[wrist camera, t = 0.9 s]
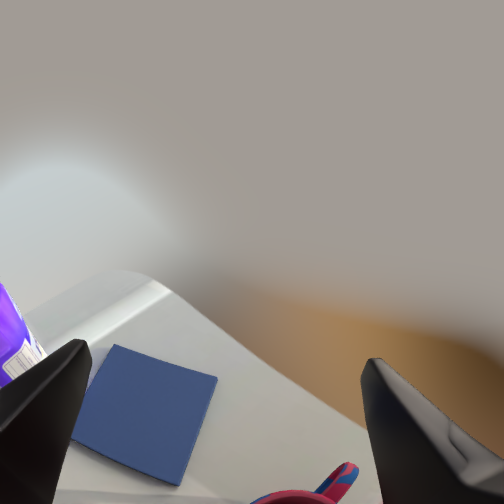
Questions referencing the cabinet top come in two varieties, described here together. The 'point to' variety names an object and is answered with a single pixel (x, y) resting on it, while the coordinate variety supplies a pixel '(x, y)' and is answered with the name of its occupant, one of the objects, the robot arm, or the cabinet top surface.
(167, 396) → the blue mat
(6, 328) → the bottle
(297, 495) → the cup
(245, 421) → the cabinet top surface
